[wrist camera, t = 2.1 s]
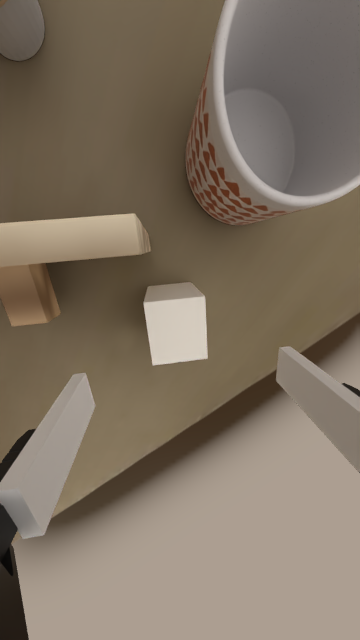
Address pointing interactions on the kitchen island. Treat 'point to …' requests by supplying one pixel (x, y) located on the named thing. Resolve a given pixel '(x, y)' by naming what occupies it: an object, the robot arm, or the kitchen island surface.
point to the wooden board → (57, 257)
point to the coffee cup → (20, 28)
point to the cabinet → (176, 323)
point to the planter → (277, 110)
